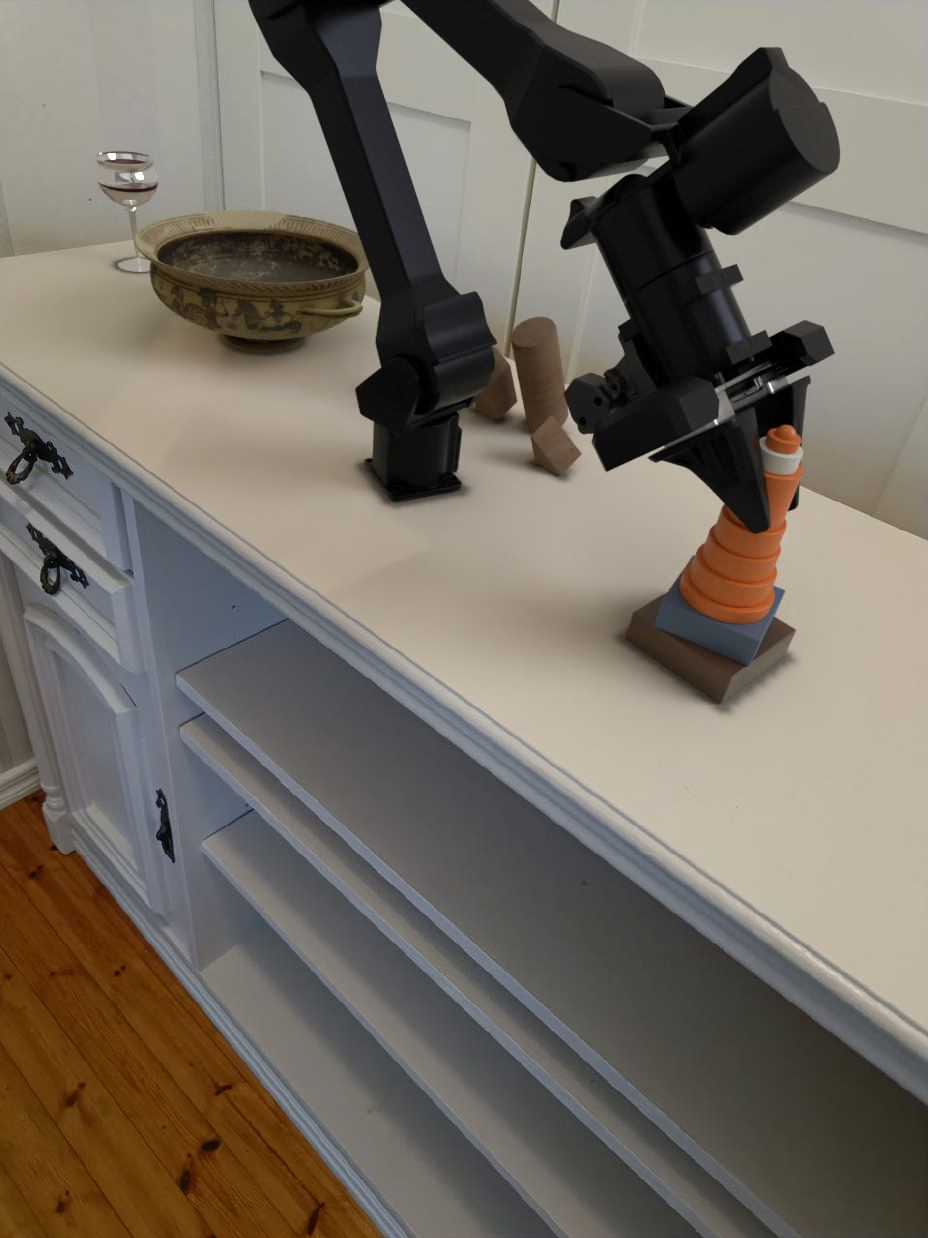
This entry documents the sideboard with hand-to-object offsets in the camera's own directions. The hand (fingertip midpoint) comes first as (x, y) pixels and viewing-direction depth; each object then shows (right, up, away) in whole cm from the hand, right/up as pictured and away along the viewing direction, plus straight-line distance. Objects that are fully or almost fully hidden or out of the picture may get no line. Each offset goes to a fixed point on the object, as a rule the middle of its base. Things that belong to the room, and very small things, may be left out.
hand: (776, 520), depth 51 cm
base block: (-2, -8, +8) cm, 11 cm away
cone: (-2, -4, +5) cm, 7 cm away
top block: (-2, -6, +6) cm, 9 cm away
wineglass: (-59, +38, +54) cm, 89 cm away
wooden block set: (-15, +12, +31) cm, 36 cm away
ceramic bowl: (-41, +25, +41) cm, 63 cm away
